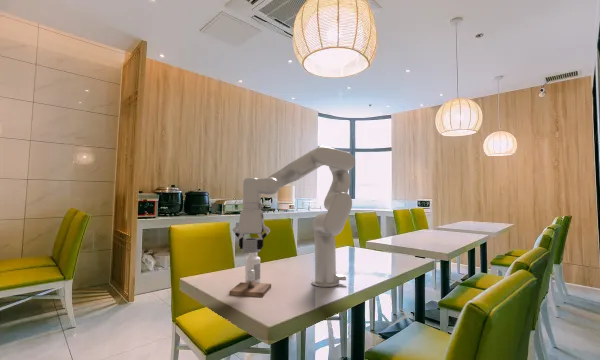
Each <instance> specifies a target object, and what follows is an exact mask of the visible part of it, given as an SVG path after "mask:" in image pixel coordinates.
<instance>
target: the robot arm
mask: <svg viewBox="0 0 600 360" xmlns="http://www.w3.org/2000/svg"><path fill="white" fill-rule="evenodd" d="M355 165H356V159H355V157H354V155H353V154H352V153H350V152H348V151H345V150H342V149H337V148H332V147H329V146H324V145H321V146H317V147H316V148H314V149H312V150H310V151H308V152H306V153H305V154H303V155H302V156H300V157H298V158H297V159H294V160H293V161H291V162H290V163H288V164H287V165H285V166H284V167H282V168H281V169H280V170H278V171H276V172H274V173H273V174H271V175H269V176H267V177H262V178H258V177H245V178H244V179H243V182H242V209H241V210H240V213H239V214H240V215H239V220H238V222H239V223H238V224H237V225H236V226H235V227H234V228H232V231H233V233H234V234H235V236H236V238H237V239H238V247H239V249H240V250H242V239H245V238H244V237H245V235H246V234H247V235H248V234H249V235H252V234H253V235H257V236H258V238H260V240H259V244H258V249H259V250H260V251H261V250H262V249H263V247H264V239H265V238H266V237H267V236H268V234H269V233H270V232H271V229H270V228H269V227H268V226H266V225H265V220H264V217H265V216H264V212H263V209H262V208H264V206H265V205H264V203H262V202H261V201H262V200H261V199H262V197H261V195H263V196H273V195H275V194H277V193H278V192H279V190H280V189H282V188H283V187H285V186H287V185H289V184H291V183H294V182H296V181H299V180H300V179H302V178H304V177H306V176H307V175H309V174H311V173H312V172H314V171H315V170H317V169H319V168H320V167H322V166H326V167H328V168H329V170H330V172H331V174H332V175H331V176H332V182H331V185H330V187H329V190H328V191H327V194H326V196H325V198H324V202H323V207H324V208H325V210H326V212H323V213H318V214H317V215H316V216H315V217H314V219H313V221H312V229H313V237H314V278H313V279H312V280H311V284H312V285H313V286H315V287H316V286H317V287H320V288H330V287H331V288H333V287H337V286H339V285H340V281H347V275H343V274H338V272H337V271H336V270H337V260H336V251H337V250H336V249H337V247H336V238H335V236H338V235H340V234H341V232H342V231H343V230H344V227H345V225H346V222H347V220H348V218H349V216H350V213H351V211H352V207H353V200H352V197H351V195H350V194H349V193H348V192H349V189H350V186H351V176H350V172H349V171H350V170H353V168H354V167H355Z"/></svg>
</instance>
